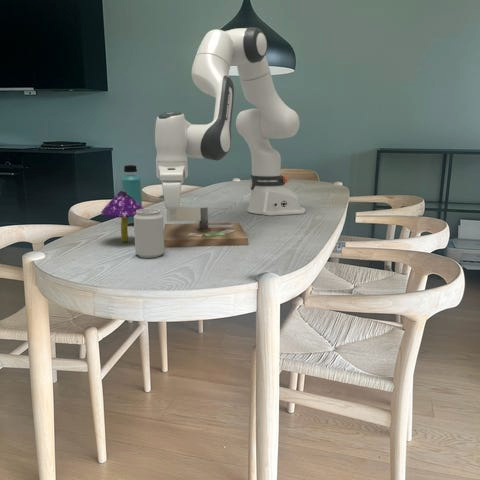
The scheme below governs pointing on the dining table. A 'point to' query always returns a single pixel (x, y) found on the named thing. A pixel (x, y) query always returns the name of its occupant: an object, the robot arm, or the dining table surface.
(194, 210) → the cream lever
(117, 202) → the decorative mushroom
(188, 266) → the dining table surface
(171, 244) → the board
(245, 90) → the robot arm
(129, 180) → the beverage bottle
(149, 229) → the can
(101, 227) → the dining table surface
